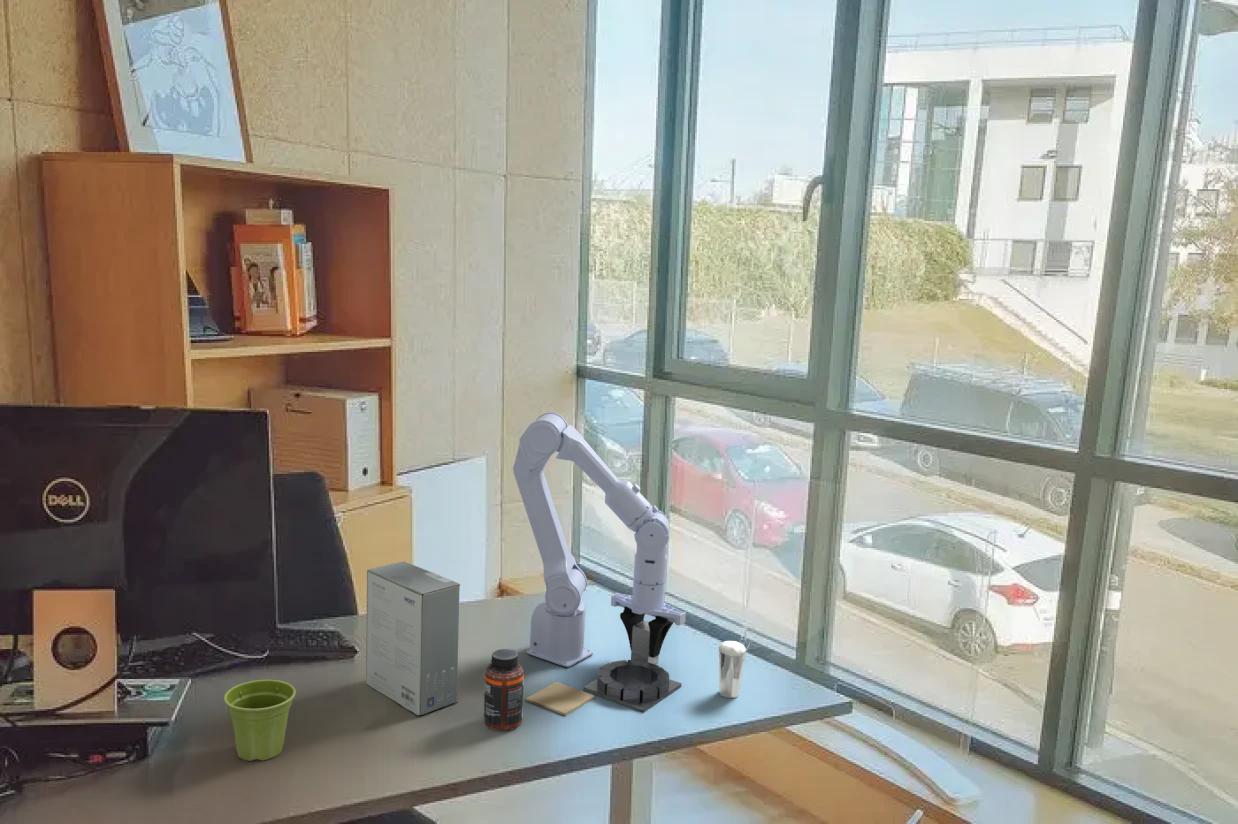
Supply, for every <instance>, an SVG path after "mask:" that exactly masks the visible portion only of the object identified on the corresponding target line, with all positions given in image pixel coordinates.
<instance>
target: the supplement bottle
mask: <svg viewBox="0 0 1238 824" xmlns="http://www.w3.org/2000/svg"><path fill="white" fill-rule="evenodd" d="M490 662H491V663H490V664H489V665H487V666H486V668H485V671H484V693H483V694H484V697H483V699H484V701H483V702H484V705H483V722H484V725H485V726H486V727H487V728H489V729H491V730H495V731H502V732H503V731H511V730H513V729H516V728H518V727H520V725H522V722H523V717H524V715H523V714H524V713H523V711H524V710H523V709H524V704H523V703H524V680H525V679H524V678H525V677H524V675H525V671H524V668H523V666H522V665H520V663H519V654H518V652H517V651H516V650H514V649H510V648H500V649H497V650H495V651H493V652H492V653H491V660H490Z"/></svg>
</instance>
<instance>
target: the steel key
mask: <svg viewBox="0 0 1238 824" xmlns="http://www.w3.org/2000/svg"><path fill="white" fill-rule="evenodd" d="M648 622H649V621H647V620H643V621H641V622H640V623H638V624H636V625H634V626H633V631H632V648H630V660H636V661H643V663H644V662H649V663H652V664H655V665H657V664H658V663H659V656H660V654H659V655H658V656H656V657H655V658H652V657H651V656H650V644H651V637H650V629H649V625H648Z"/></svg>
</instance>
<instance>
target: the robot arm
mask: <svg viewBox="0 0 1238 824" xmlns="http://www.w3.org/2000/svg"><path fill="white" fill-rule="evenodd" d="M556 452H558V454H557V455H556V457H555V459H556V460H557V459H558V460H565V461H570V462H574V463H575V464H576V465H577V467H579V469H581V471H583V472H584V474H586V475H587V477H588V478H590V479H591V480H592V481H593V482H594V483H595V484H596V486H598V487H599V488H600V489H601V490H602V491H603V492H604V494H605V495H604V497H605V498H604V503H605V504H606V506H607V507H608V508H609V509H610V510H611V511H612V512H613V513H614V515H616V517H617V518H618V519H619V520H620V521H621V522H622V523H623V524H624V525H625V526H626V527H627V528H628V530H630V531H632V532H634V535H633V537H634V541H635V543H636V552H635V553H634V554H635V555H634V566H633V578H632V579H633V581H632V595H630V594H626V593H625V594H624V593H621V592H620V593H619V592H616V593H613V594H612V595H611V596H610V597H611V600H610V606H612V607H620V608H623V611H622V612H620V613H619V617H620V620H621V622H622V624H623V625H624V628H625V631H626V634H627V638H628V641H629V642H628V643H629V647H630V649H631V648H632V631H633V626H634V625H636V624H638V623H640V622H641V621H643V620H644V618H645V615H648V616H650V617H653V619H652V620H650V621H647V622H648V625H649V629H650V637H651V644H650V656H651V657H652V658H655V657H656V656H658V655H659V656H660V655H661V654H660V653H661V650H662V646H663V644H664V640H665V639H666V636H667V634H668V632H669V631H670V629H671V627H672V626H673V624H675V625H676V626H681V625H683V624H686V617H687V612H686V611H684V610H683V611H682V610H680V609H678V608H676V607H674V606H673V605H669V604H668V603H666V602H665V596H666V595H665V594H666V592H665V591H666V582H667V567H668V564H667V563H668V554H667V552H668V545H667V544H668V542H669V539H670V537H669V533H670V522H669V520H668V518H667V517H666V514H665V512H663V511H661V510H660V509H659V508H658V507H657V506H656V505H655V504H654V505H652V504H651V503H650V501H648V499H646V498H645V496H643V494H642V493H641V487H640V486H639V485H638V484H637V483H634V484H633V483H632V482H630V481H629V480H627V479H625V480H624V479H623V480H622V479H619V478H618V477H617V476H616V475H615V474H614V472H612V470H610V468H609V466H608V465H607V464H606V463H605V462H604V461H603V460H602V458H601V457H600V456H599V455H598V454H597V453H596V451H595V450H594V449H593V448H592V447H591V445H589V443H588V442H587V441H586V440H585V438H584V437H583V436H582V434H580V433H579V432H578V430H577V429H576V428H575V427H574V426H573V425H571V424H570V423H569V424H568V423H567V421H566V419H565V418H564V417H563V416H562V415H561V414H559V413H557V412H550V411H549V412H544V413H542V414H541V415H539V416H538V417H537V418H536V420H535V421H534V422H532V423H530V424H529V425H528V427H527V428H526V429H525V431H524V432H523V433H522V434H521V436H520V437H519V445H518V449H517V452H516V455H515V460H514V463H513V467H512V470H513V475H514V479H515V481H516V484H517V488H518V490H519V494H520V497H521V500H522V503H523V506H524V508H525V511H526V515H527V518H528V521H529V523H530V527H531V530H532V534H533V535H534V539H535V542H536V545H537V548H538V551H539V554H540V558H541V561H542V565H543V580H544V583H545V584H544V585H545V588H546V589H545V594H544V601H542V602H540V603H539V604H537V605H536V606H535V608H534V610H533V612H532V615H531V618H530V633H529V635H530V637H529V638H530V639H529V641H530V642H529V649H528V650H526V653H527V655H530V656H533V657H536V658H537V659H538V658H539V659H541V660H545V661H548V662H551V663H552V664H557V665H558V666H561V667H565V668H570V667H572V666H574V665H575V664H578V663H579V662H581V661H583V660H585V659H587V658H589V657H590V656H592V655H593V654H594V651H593V650H590V649H588V648H584V647H585V631H586V630H585V627H586V611H587V610H586V609H587V606H586V604H585V602H584V601H583V598H582V597H583V595H584V592H585V591H586V589H587V586H588V579H587V576H586V574H585V573H584V571H583V570H582V569H581V568H580V567H579V566H578V564H577V562H576V558H575V557H574V555H573V554H572V553H571V552H570V550H569V547H568V543H567V540H566V537H565V535H564V532H563V527H562V525H561V522H560V519H559V516H558V513H557V511H556V507H555V504H554V500H553V497H552V495H551V490H550V488H549V485H548V483H547V478H546V476H545V473H544V469H545V467H546V465H547V463H548V462H549V460H550V458H551V457H552V456H553V455H554V454H555V453H556ZM644 621H645V620H644Z"/></svg>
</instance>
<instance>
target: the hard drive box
mask: <svg viewBox="0 0 1238 824" xmlns="http://www.w3.org/2000/svg"><path fill="white" fill-rule="evenodd" d="M460 587H461V584H460V583H459V582H456V581H454V580H451V579H449V578H447V577H444V576H442V575H440V574H437V573H434V572H433V571H429V570H426V569H425V568H421V567H419V566H416V565H415V564H411V563H410V562H407V561H404V560H403V561H397V562H396V563H391V564H386V565H382V566H376V567H374V568H373V567H372V568H368V569H367V570H366V636H365V637H366V641H365V642H366V648H365V649H366V651H365V653H366V655H365V656H366V658H365V661H366V663H365V666H366V667H365V678H366V679H365V681H366V682H365V683H366V685H367V686H370V688H372V689H374V690H375V691H377V692H378V693H380V694H382V695H384V696H386V697H387V698H389V699H391V700H392V701H394V702H395V703H397V704H398V705H400V706H402V707H403V708H404V709H406V710H407V711H410V712H411V713H413V714H415V715H417V716H422V715H425V714H428V713H431V712H433V711H436V710H439V709H440V708H441V709H442V708H444V707H446V706H449V705H452V704H455V703H457V702H458V699H457V698H458V672H459V671H458V669H459V668H458V666H459V665H458V663H459V662H458V661H459V660H458V659H459V624H460V622H459V621H460V619H459V617H460Z"/></svg>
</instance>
